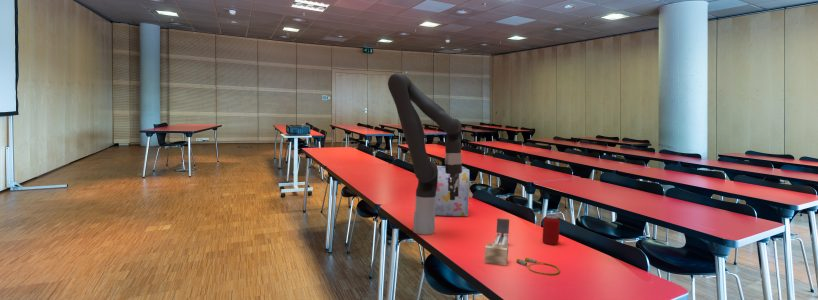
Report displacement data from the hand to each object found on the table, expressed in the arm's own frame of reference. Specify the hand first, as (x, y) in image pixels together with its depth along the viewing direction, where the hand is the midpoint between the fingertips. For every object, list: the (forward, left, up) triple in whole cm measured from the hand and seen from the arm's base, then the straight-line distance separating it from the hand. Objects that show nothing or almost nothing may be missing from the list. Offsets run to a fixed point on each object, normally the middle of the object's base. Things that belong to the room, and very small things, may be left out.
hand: (454, 198), depth 196 cm
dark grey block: (+23, -10, -17) cm, 30 cm away
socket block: (+23, -27, -17) cm, 39 cm away
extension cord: (+38, -27, -18) cm, 50 cm away
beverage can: (+43, +6, -18) cm, 46 cm away
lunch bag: (-11, +40, -18) cm, 45 cm away
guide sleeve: (+23, -10, -17) cm, 30 cm away
